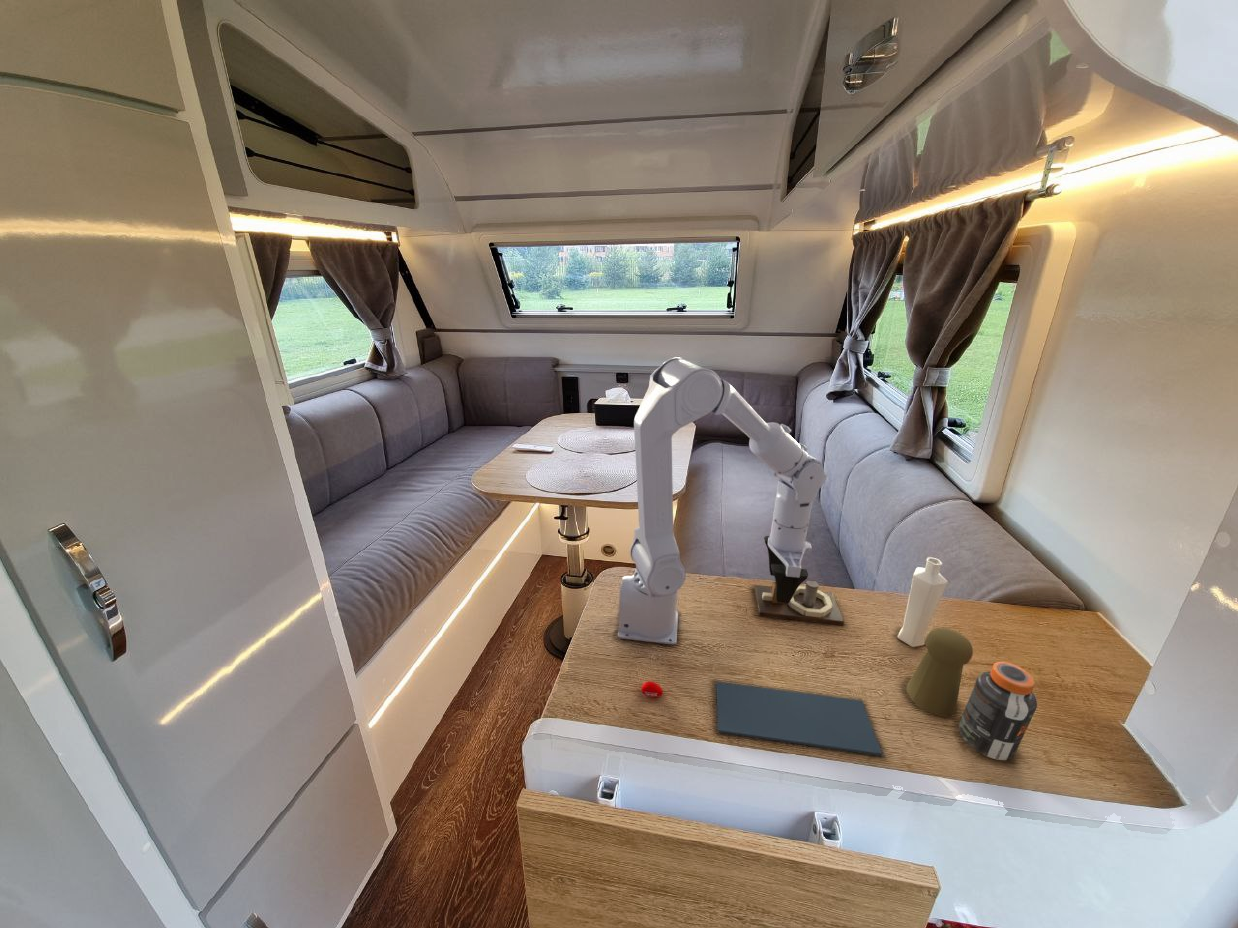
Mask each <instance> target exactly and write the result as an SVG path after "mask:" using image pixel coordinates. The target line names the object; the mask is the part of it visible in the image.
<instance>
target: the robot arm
mask: <svg viewBox="0 0 1238 928" xmlns="http://www.w3.org/2000/svg"><path fill="white" fill-rule="evenodd" d="M648 383H649V384H648V388H647V390H646V392H645V394H644V397H643V398H642V401H641V403H640V405H639V408H638V409H637V411H636V413H635V415H634V419H633V432H634V433H633V434H634V453H635V470H636V491H637V509H638V527H636V528H635V529H634V531H633V532H634V535H633V536H634V538H633V541H632V543H631V545H630V547H629V556H630V558H631V560H632V562H633V563H635V571H634V573H633V574H632V575H623V576H622V578H621V582H620V589H619V599H618V614H617V615H618V632H617V638H619V639H623V640H633V641H640V642H649V643H656V644H657V643H658V644H666V645H672V646H673V645H677V641H678V640H677V639H678V621H679V611H678V610H677V604H678V592H679V590H680V589H681V588H682V586H683V585H684V583H685V581H686V577H687V572H686V569H685V567H684V565H683V564H682V562H681V557H680V556H681V555H680V554H681V553H680V550H679V549H680V548H679V546H678V543H677V541H676V537H675V534H674V489H673V487H674V486H673V485H674V484H673V440H672V439H673V436H674V435H675V434H676V433H677V432H678V431H679V430H680V429H683V428H684V427H685V426H687V425H689V424H691V423H694V422H695V421H697V420H698V419H701V418H703V417H704V416H706V415H708V414H709V413H712V414H713V415H715V416H719V415H722V416H724V417H725V418H726V419H727V420H729V422H731V423H732V424H733V425H734V426H735V427H737V428H738V430H740V431H741V432H742V433H744V434H745V435H746V436H747V437H748V438H749V441H748V447H749V450H750V451H751V453H753V455H754V456H756V457H757V458H758V459H759V460H760V461H762V463H764V465H766V467H768V468H769V469H770V470H771V473H772V475H773V476H774V477H777V478H778V479H777V487H776V494H775V499H774V500H775V501H774V508H773V513H772V520H771V526H770V534H769V535H765V536H764V537H763V540H764V544H765V546H766V549H767V555H768V569H769V575H770V576H772V577H774V582H775V584H776V599H777V602H784V603H789V602H790V601H791V599H792V597H793V595H794V593H795V591H796V589H797V588H798V587H799V586H801V584H802V583H804V582H805V581H806V580H807V579H808V577H809V573H808V569H807V568H802V565H801V564H802V560H803V558H804V554H805V552H811V551H812V548H813V547H812V544H811V543H810V541H806V539H807V534H808V529H809V524H810V519H811V513H812V508H813V503H814V502H815V500H816V499H817V496H818V495H817V494H818V492H819V490H820V489H821V488H822V487H823V485H824V484H825V482H826V480H827V476H828V475H827V474H825V469H824V465H823V463H822V462H821V461H820V459H817V458H816V457H814V456H812V455H810V454H808V452H807V451H808V447H807V446H806V445H805V444H803V443H802V442H799V443H798V442H797V440H796V439H794V438H793V437H792V435H791V434H790V433H792V429H791V428H790V427H789V426H788V425H786V424H784V423H781V424H780V423H778V422H773V421H772V422H766V421H765V420H764V419H763V418H762V417H761V416H760V415H759V414H758V412H756V411H755V409H754V408H753V407H752V406H751V405H750V404H749V403H748V401H746V399H745V398H744V397H743V396H742V395H741V394H740V393H739V391H737V390H736V389H735V387H733V385H731V384H730V382H728V381H727V380H725V379H723V378H722V377H720V376H719V374H717V373H716V372H715V371H714V370H712V369H710V368H706V367H702V366H700V365H698V364H695V363H693V362H691V361H689V360H688V359H686V358H684V357H678V356H677V357H672V358H669V359H667V360H665V361H664V362H663V363H661V365H659V366H658V367H657V368H656V369H655V370H654V371H653V372H652V373H651V374H650V375H649V382H648Z"/></svg>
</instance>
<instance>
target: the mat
mask: <svg viewBox="0 0 1238 928" xmlns="http://www.w3.org/2000/svg"><path fill="white" fill-rule="evenodd" d="M715 691H716V693H715V694H716V714H717V732H718V733H720V734H728V735H733V736H740V737H741V736H742V737H748V738H755V739H761V740H769V741H776V742H782V743H790V744H795V745H803V746H810V747H816V748H823V749H830V750H837V751H844V752H845V751H846V752H851V753H858V754H865V755H871V756H872V755H873V756H879V757H883V754H884V753H883V750H882V748H881V745H880V743H879V741H878V738H877V735H876V733H875V730H874V728H873V725H872V722H871V720H870V717H869V714H868V712H867V709H866V706H865V704H864V702H863V700H861V699H860V700H859V699H854V698H853V699H852V698H844V697H836V696H828V695H822V694H816V693H815V694H814V693H808V692H798V691H793V690H784V689H778V688H777V689H775V688H769V687H761V686H754V685H753V686H752V685H746V684H745V685H744V684H739V683H738V684H737V683H730V682H722V681H715Z"/></svg>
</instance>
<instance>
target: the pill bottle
mask: <svg viewBox="0 0 1238 928" xmlns="http://www.w3.org/2000/svg"><path fill="white" fill-rule="evenodd" d="M1035 685H1036V682H1035V679H1034V677H1033V676H1032V675H1031V674H1030V673H1029V672H1028V671H1027V670H1025V669H1024V668H1022V667H1020V666H1018V665H1016V664H1013V663H1011V662H1007V661H997V662H995V663H994V664H993V665H992V668H991V670H990V671H984V672H982V673H981V674H979V675H978V676H977V678H976V680H975V683H974V686H973V687H972V690H971V692H970V695H969V697H968V700H967V702H966V705H965V707H964V710H963V713H962V715H961V718H960V720H959V724H958V730H959V734H960V736H961V737H962V739H963V740H964V741H965V743H966V744H968V745H969V746H970V747H971V749H973V750H974V751H976V752H978V753H979V754H981V755H983V756H985V757H987V758H989V759H993V760H996V761H1009V760H1011V759H1013V758H1014V757H1015V755H1016V753H1017V751H1018V749H1019V747H1020V745H1021V743H1022V740H1023V738H1024V736H1025V734H1026V732H1027V730H1028V727H1029V725H1030V723H1031V721H1032V719H1033V718H1034V715H1035V713H1036V710H1037V708H1038V701H1037V700H1038V699H1037V697H1036V695H1035V694H1034V692H1033V691H1034V687H1035Z"/></svg>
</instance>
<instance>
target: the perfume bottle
mask: <svg viewBox="0 0 1238 928" xmlns="http://www.w3.org/2000/svg"><path fill="white" fill-rule="evenodd" d="M925 560H926V564H925V567H918V566H917V567H916V568H915V570H914V572H913V575H912V580H911V584H910V590H909V595H908V599H907V605H906V608H905V609H906V610H905V613H904V618H903V619H904V620H903V623H902V627H901V629H900V630H899V633H898V634H897V639H898V640H901V641H902V642H904V643H905V644H907V645H908V646H910V647H912V648H916V647H920V646H924V645H925V646H926V640H925V635H926V633H927V630H928V629H929V626H930V624H931V622H932V620H933V616H934V615H935V613H936V610H937V608H938V605H939V603H940V601H941V599H942V596H943V595H944V592H945V590H946V587H947V586H948V584H949V582H948V580H947V579H946V578H945V577H944V576H943V575H942V573H940V570H941V567H942V565H944V563H943V562H942V561H941V560H940V559H939V558H935V557H931V556H928V557H927V558H926V559H925Z"/></svg>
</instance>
